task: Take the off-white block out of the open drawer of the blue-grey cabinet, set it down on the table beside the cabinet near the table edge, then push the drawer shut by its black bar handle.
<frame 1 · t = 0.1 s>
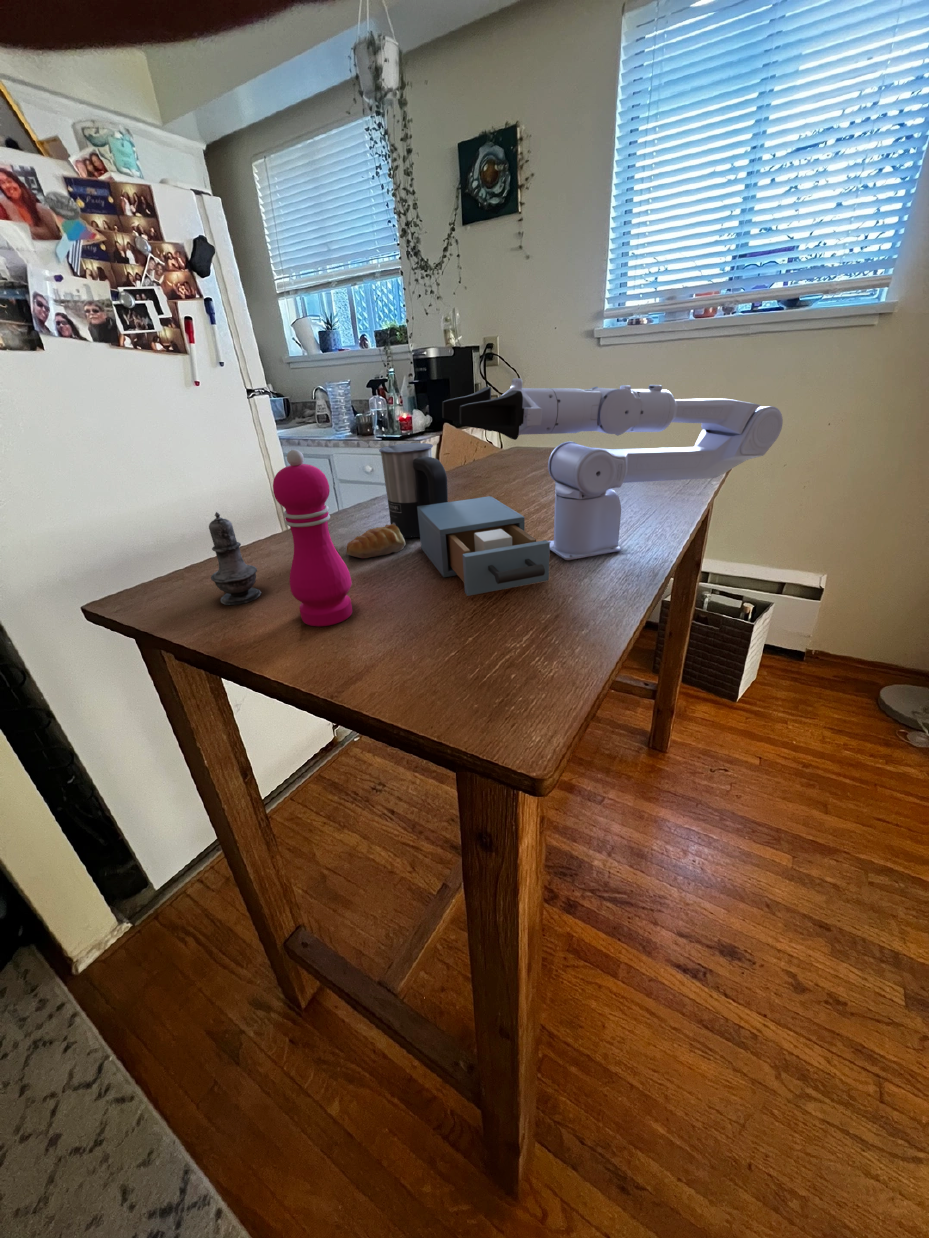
hand: (451, 412, 64), 22 cm above the table, tool horizontal, fingers open, 7 cm apart
pastry: (379, 551, 83), on the table
drawer: (497, 558, 67), point 4 cm above the table, slide at 8.0 cm, touching block
pepper mill: (327, 616, 63), on the table
cabinet: (470, 555, 79), on the table
salt shaker: (241, 598, 70), on the table
block: (493, 566, 69), point 2 cm above the table, touching drawer
milk frother: (436, 528, 93), on the table
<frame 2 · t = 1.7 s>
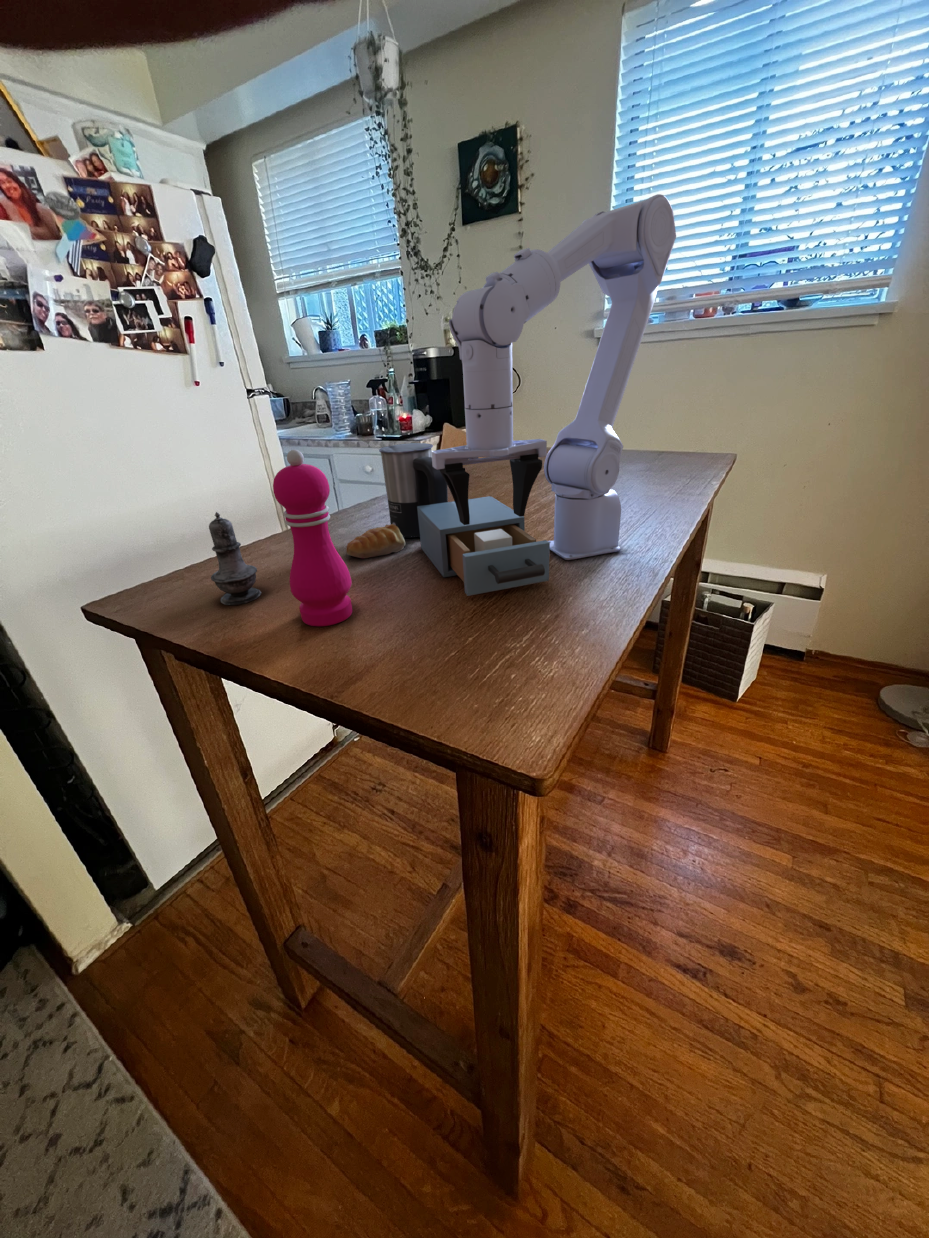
hand: (492, 518, 66), 9 cm above the table, tool pointing down, fingers open, 7 cm apart
nothing on the table moved.
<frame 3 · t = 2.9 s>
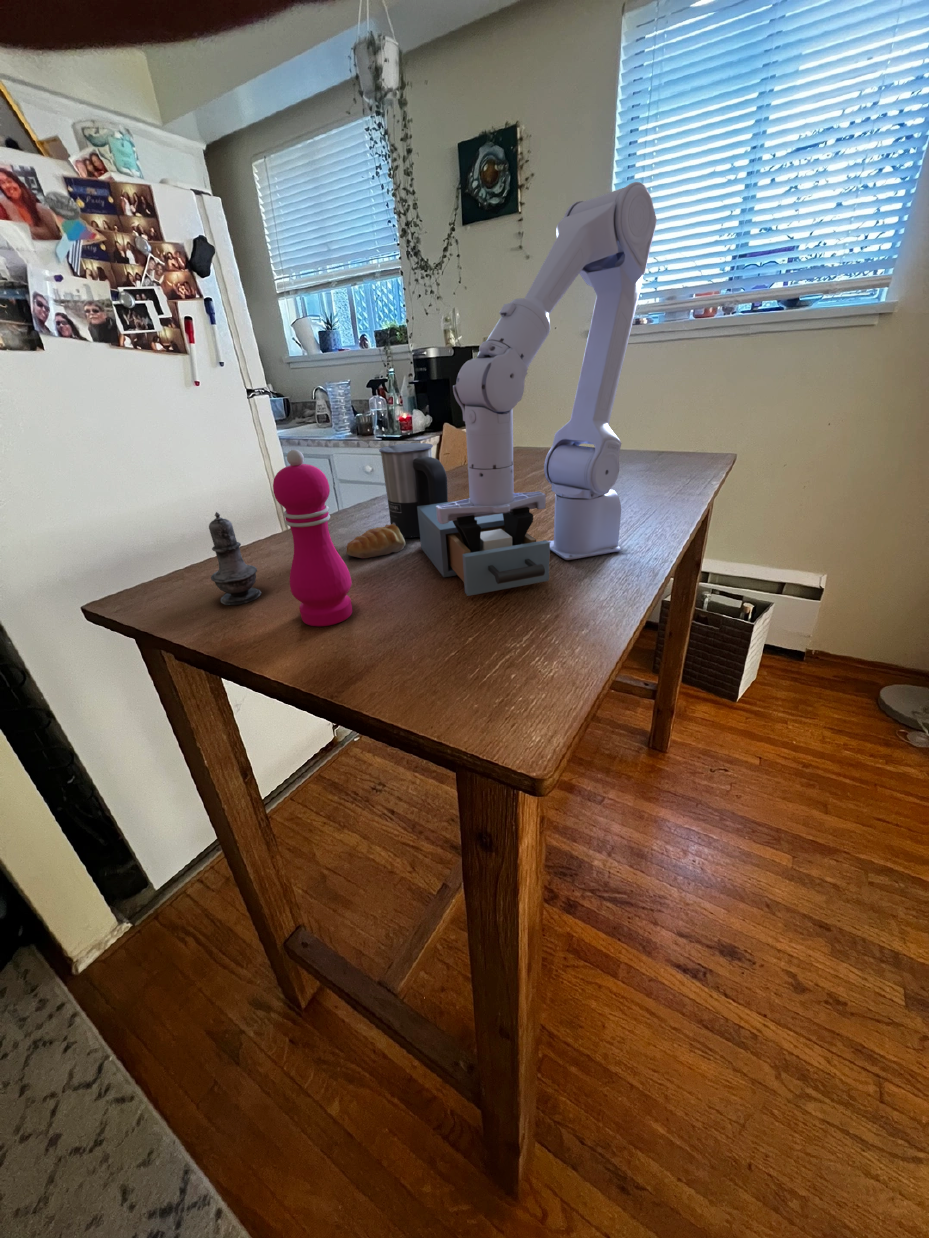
hand: (493, 566, 69), 2 cm above the table, tool pointing down, fingers open, 5 cm apart
nothing on the table moved.
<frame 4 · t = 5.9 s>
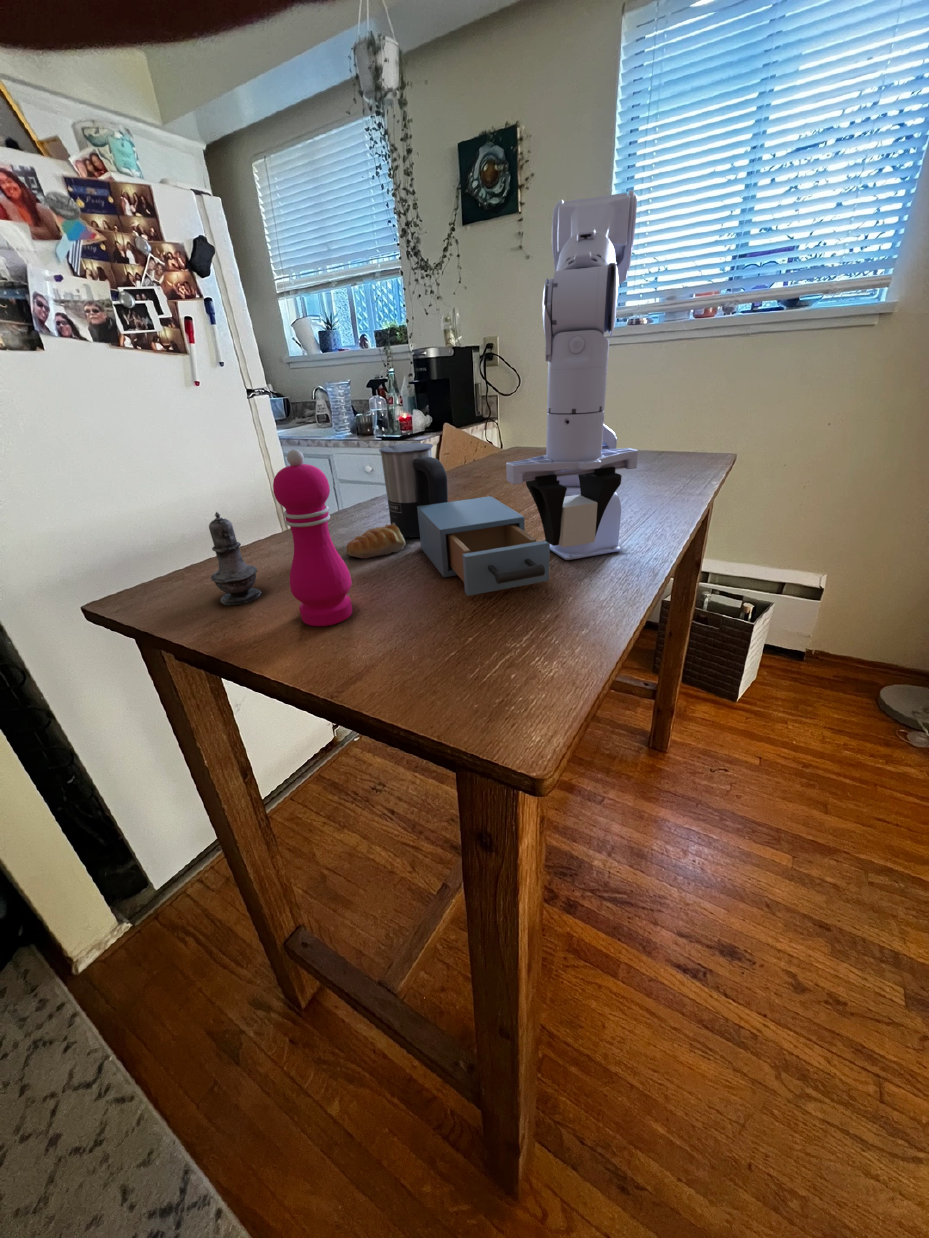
hand: (569, 539, 57), 9 cm above the table, tool pointing down, fingers closed on block, 4 cm apart
drawer: (497, 558, 67), point 4 cm above the table, slide at 8.0 cm
block: (570, 539, 57), point 9 cm above the table, touching gripper
everything else where it was.
when the fingers open (0 cm above the table, at t = 8.6 s): block stays where it is, on the table.
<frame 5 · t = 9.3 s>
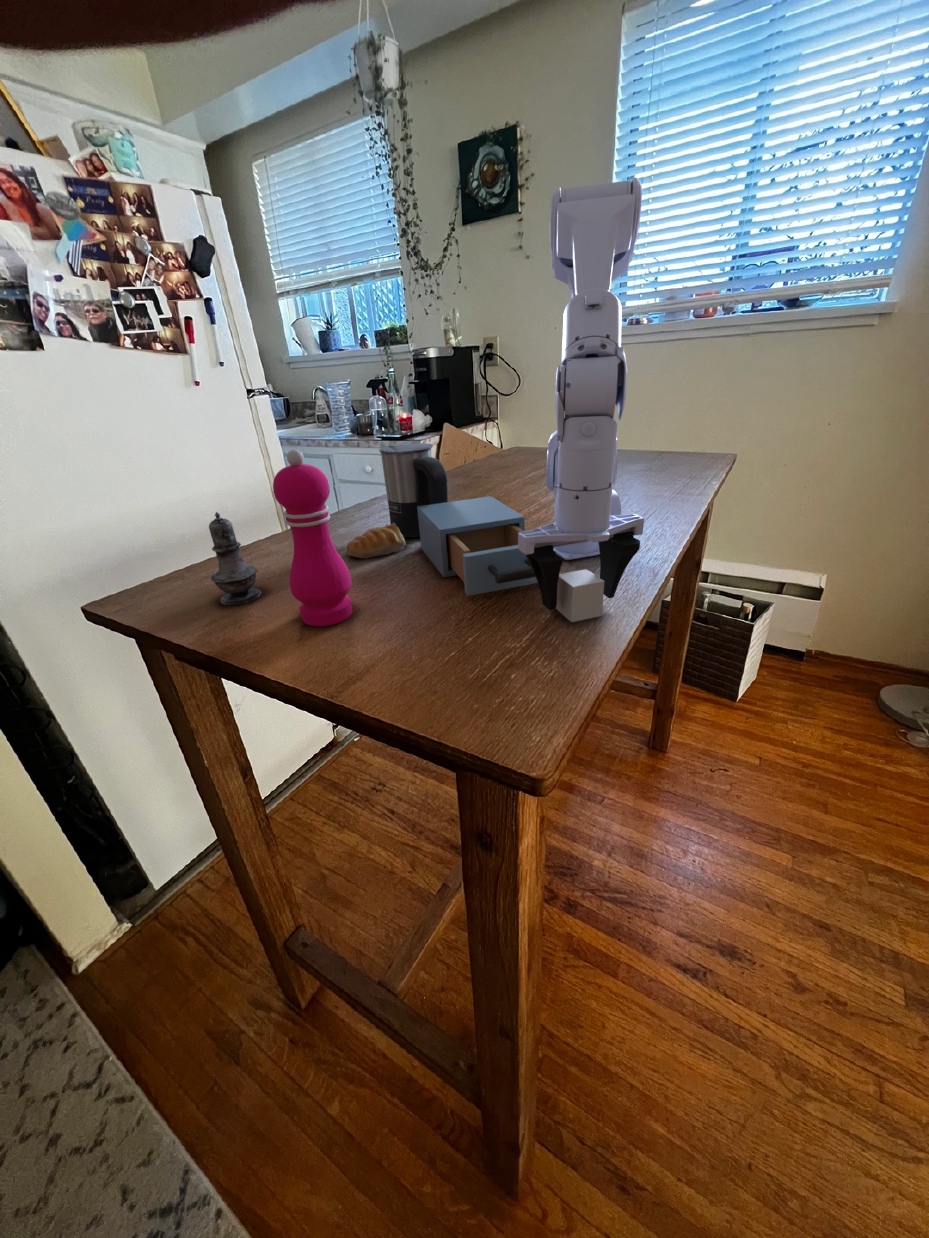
hand: (578, 600, 59), 2 cm above the table, tool pointing down, fingers open, 7 cm apart
block: (578, 612, 60), on the table
everything else where it was.
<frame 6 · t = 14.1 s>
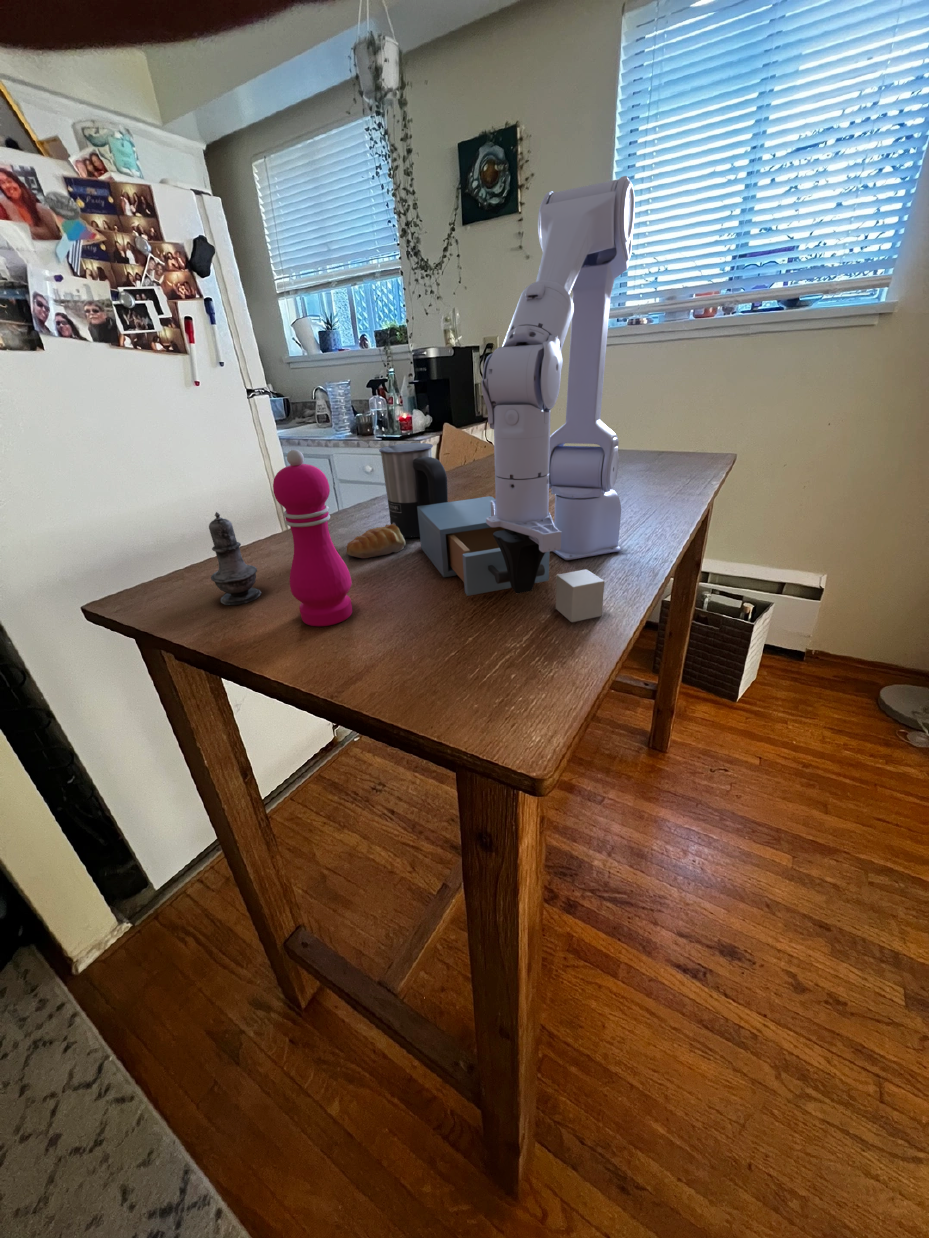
hand: (522, 590, 59), 3 cm above the table, tool pointing down, fingers closed
drawer: (497, 558, 67), point 4 cm above the table, slide at 8.0 cm, touching gripper
everything else where it was.
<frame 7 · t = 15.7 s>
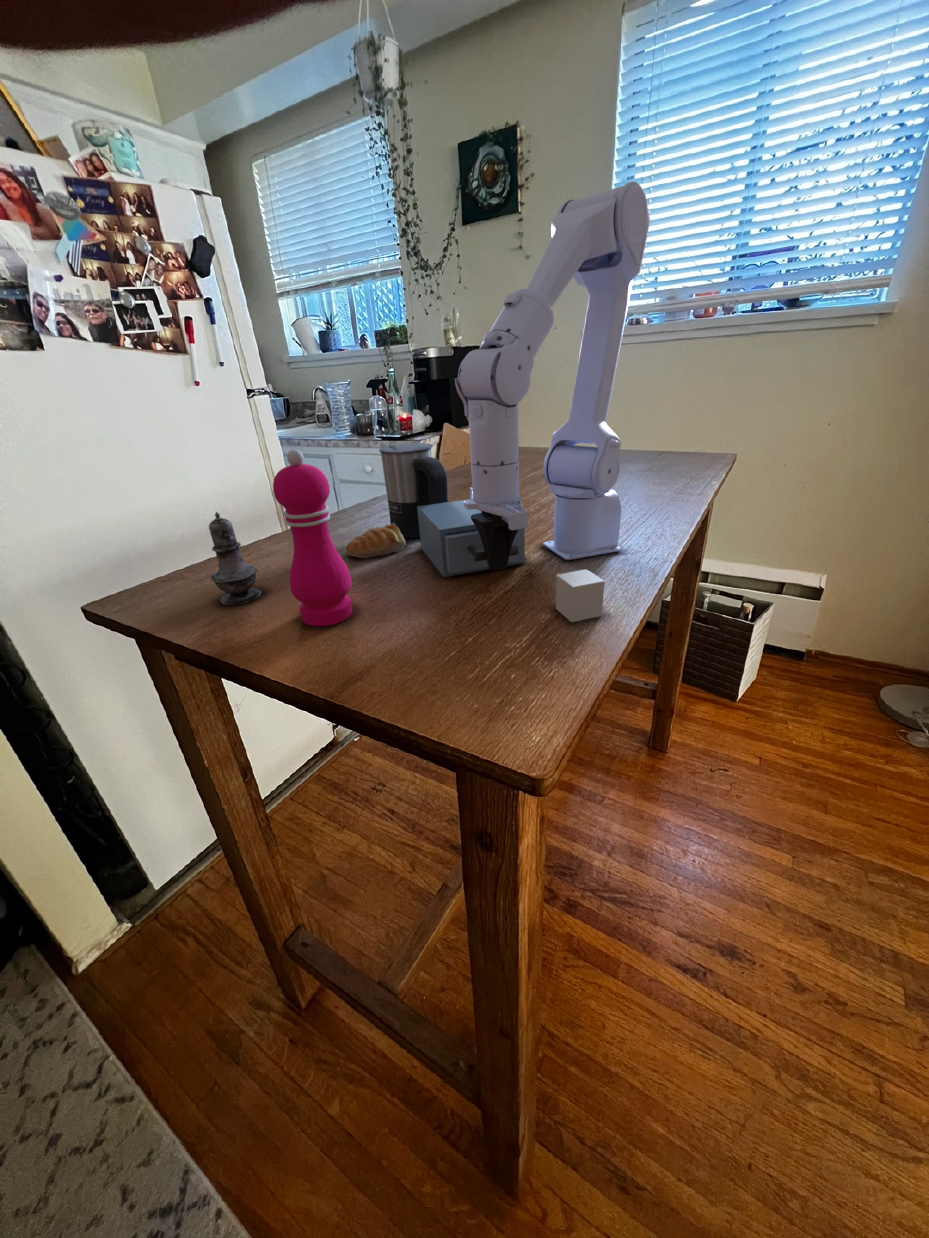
hand: (497, 567, 66), 3 cm above the table, tool pointing down, fingers closed, pressing on drawer
drawer: (477, 541, 74), point 4 cm above the table, slide at 0.0 cm, touching gripper
everything else where it was.
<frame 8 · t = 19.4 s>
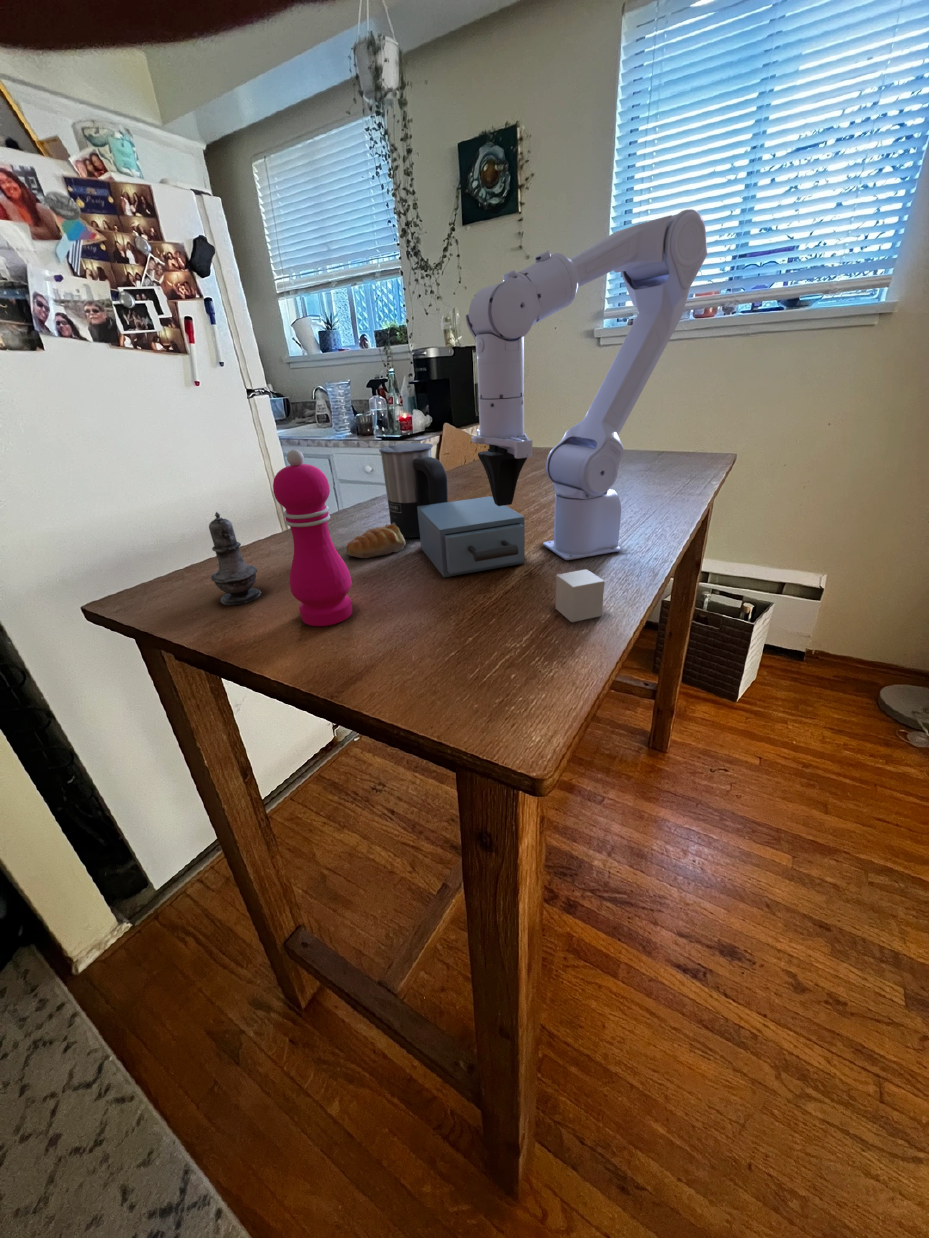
hand: (503, 504, 69), 9 cm above the table, tool pointing down, fingers closed
drawer: (477, 541, 74), point 4 cm above the table, slide at 0.0 cm, touching cabinet
everything else where it was.
at the end: block 0.1 cm from the target spot, on the table; block tilted 0°; drawer slide at 0.0 cm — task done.
